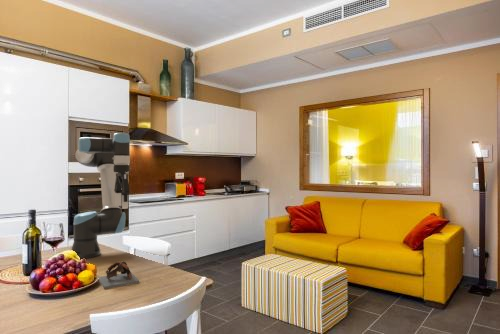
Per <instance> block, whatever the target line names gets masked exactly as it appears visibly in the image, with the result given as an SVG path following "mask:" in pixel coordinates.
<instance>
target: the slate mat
mask: <svg viewBox="0 0 500 334" xmlns="http://www.w3.org/2000/svg"><path fill="white" fill-rule="evenodd" d="M131 275H132V278H131V279H130V280H129V277H128V276H127V272H126V274H121V272H119V273H117V277H116V276H113V277H110V279H108V278H107V275H103V276H97V279H98V278H99V281H98V282H99V284H100V285H101V286H102V288H103V289H104V290H107V289H113V288H118V287H123V286H128V285H134V284H139V283H140V282H141V281H140V279H139V278H138V277H137V276H136V275H135V274H134V273H133V272H131Z"/></svg>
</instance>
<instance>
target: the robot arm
mask: <svg viewBox="0 0 500 334" xmlns="http://www.w3.org/2000/svg"><path fill="white" fill-rule="evenodd" d="M77 143H78V145H77V147H78V149H77V150H76V151H75V154H74V155H75V156H74V157H75V160H76V161H77V163H79V164H80V165H83V166H85V167H90V168H96V169H97V171H98V172H99V173H100V187H101V201H102V209H100V211H99V213H98V212H97V211H94V210H93V211H87V212H86V211H85V212H81V213H78V214H75V216H74V217H73V223H72V224H73V243H72V245H71V249H70V251H71V250H73V251H75V252H76V253H77V255H78V256H79V257H80V258H81V259H90V258H94V257H98V256H99V255H101V248H100V245H99V242H98V236H100V235H112V234H121V233H123V232H124V229H125V227H126V221H127V220H126V219H127V218H126V212H124V211H123V209H124V210H125V209H129V194H130V186H129V177H128V176H129V175H128V174H127V173H130V171H131V167H130V164H131V163H130V162H131V161H130V160H131V159H130V158H131V154H130V152H131V149H130V148H131V146H130V145H131V139H130V134H129V133H123V132H116V133H114V134H113V137H111V138H109V137H89V136H83V137H79V138H78V142H77Z"/></svg>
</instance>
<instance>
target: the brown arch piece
mask: <svg viewBox="0 0 500 334" xmlns="http://www.w3.org/2000/svg"><path fill="white" fill-rule="evenodd" d="M126 272H127V276H128V277H129V280H130V279H131V278H132V275H131V273H132V271H131V269H130V268H129V266H128V263H127V262H126V261H116V262H113V264H111V265H110V266H109V267H107V270H105V274H106V276H107V278H108V279H110V277H113V276H116V277H117V274H118V273H121V274H126Z"/></svg>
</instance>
